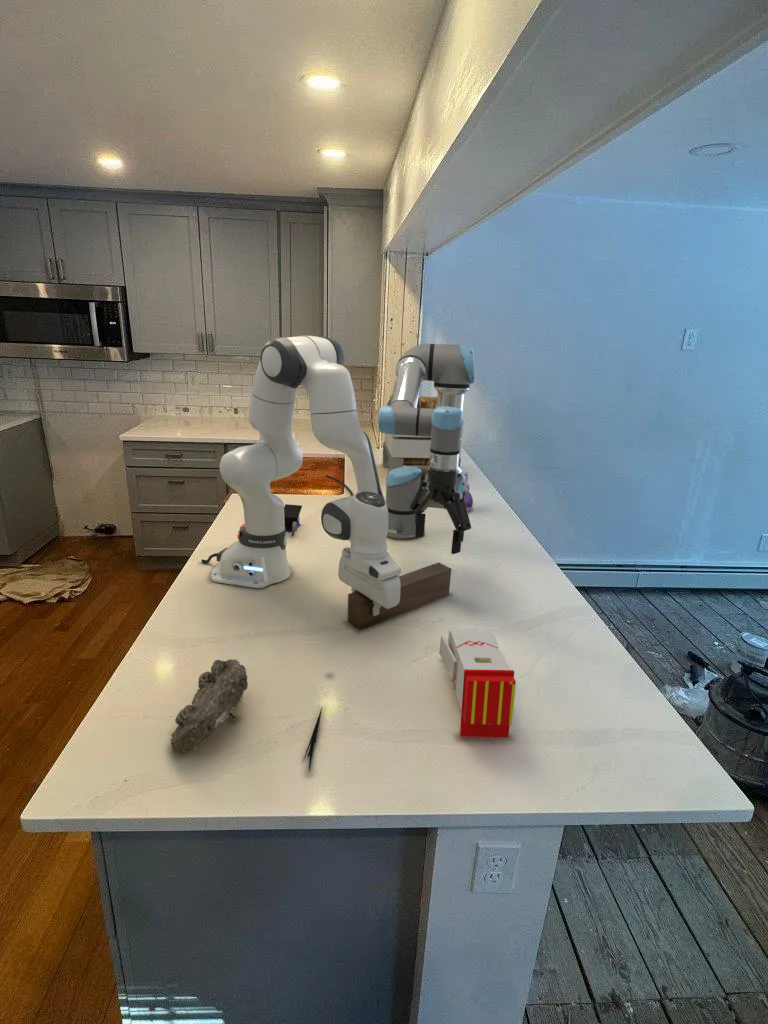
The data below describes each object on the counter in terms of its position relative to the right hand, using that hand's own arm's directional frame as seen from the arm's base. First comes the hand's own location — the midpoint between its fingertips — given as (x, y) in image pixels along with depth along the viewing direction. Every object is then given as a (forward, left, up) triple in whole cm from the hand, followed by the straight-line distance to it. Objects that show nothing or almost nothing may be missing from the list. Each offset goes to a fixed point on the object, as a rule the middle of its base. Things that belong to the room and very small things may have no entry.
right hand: (437, 544), depth 153 cm
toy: (+35, -24, -15) cm, 45 cm away
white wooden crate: (-92, +83, -15) cm, 125 cm away
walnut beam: (0, -12, -15) cm, 19 cm away
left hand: (0, -24, -12) cm, 27 cm away
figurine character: (-63, -7, -15) cm, 65 cm away
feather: (+23, -54, -15) cm, 60 cm away
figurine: (-44, +61, -15) cm, 77 cm away
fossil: (+10, -69, -15) cm, 71 cm away
